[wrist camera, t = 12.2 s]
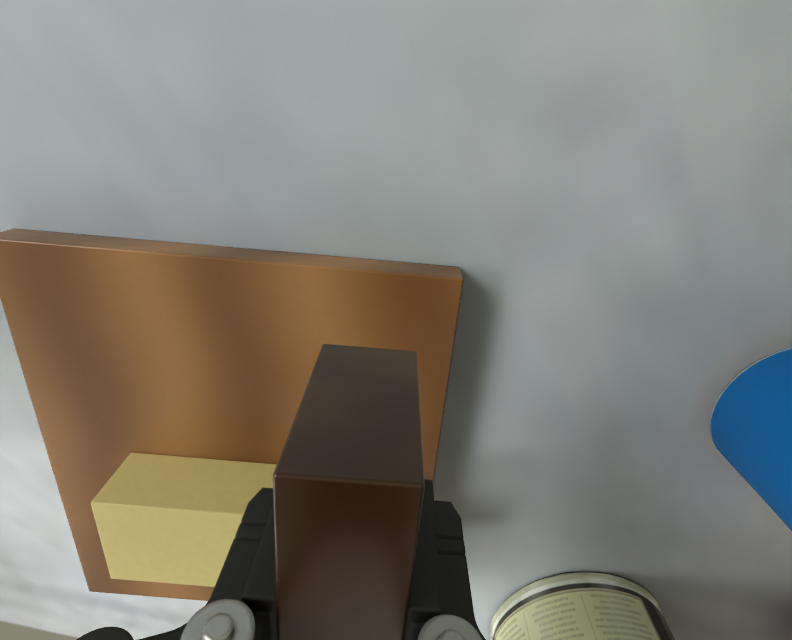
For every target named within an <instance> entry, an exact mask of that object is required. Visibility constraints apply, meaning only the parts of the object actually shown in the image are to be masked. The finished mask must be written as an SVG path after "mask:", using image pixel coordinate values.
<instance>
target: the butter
mask: <svg viewBox="0 0 792 640" xmlns="http://www.w3.org/2000/svg"><path fill="white" fill-rule="evenodd" d="M276 465H277V464H266V463H254V462H241V461H229V460H217V459H205V458H193V457H181V456H169V455H156V454H144V453H131V454H130V455H129V456H128V457H127V458H126V460H125V461H124V462H123V463H122V465H121V466H120V467H119V468H118V469H117V471H116V472H115V473H114V474H113V476H112V477H111V478H110V479H109V480H108V482H107V483H106V484H105V485H104V487H103V488H102V489H101V490H100V491H99V493H98V494H97V495H96V496H95V498H94V499H93V500H92V501H91V507H92V510H93V514H94V518H95V521H96V525H97V529H98V533H99V536H100V540H101V544H102V547H103V551H104V555H105V558H106V562H107V566H108V570H109V573H110V577H111V578H112V579H122V580H134V581H147V582H159V583H172V584H184V585H196V586H209V587H215V585H216V582H217V580H218V577H219V575H220V572H221V570H222V567H223V565H224V562H225V560H226V557H227V555H228V552H229V550H230V547H231V545H232V542H233V540H234V539H235V535H236V532H237V530H238V527H239V525H240V524H241V520H242V517H243V515H244V512H245V510H246V507H247V505H248V502H249V501H250V500H251V499H252V498H253V497H254V496H255V495H256V494H257V493H258V492H259V491H260V490H261V489H262V488H273V473H274V471H275V468H276Z"/></svg>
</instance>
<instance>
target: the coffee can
mask: <svg viewBox="0 0 792 640" xmlns="http://www.w3.org/2000/svg"><path fill="white" fill-rule="evenodd" d="M490 640H675V639H674V637H673V635H672V633H671V631H670V629H669V627H668V625H667V623H666V621H665V619H664V617H663V615H662V611H661V609H660V606H659V605H658V603H657V602H656V600H655V599H654V598H653V596H652V595H651V594H650V593H649V592H647V591H646V590H645V589H644V588H642V587H641V586H639V585H638V584H636V583H634V582H632V581H630V580H628V579H624V578H621V577H618V576H615V575H610V574H605V573H592V572H578V573H565V574H560V575H556V576H553V577H549V578H544V579H541V580H538V581H536V582H533V583H531V584H529V585H527V586H525V587H524V588H522V589H520V590H519V591H517V592H515V593H514V594H513V595H512V596H510V597H509V598H508V599H506V600H505V601H504V602H503V604H502V605H501V606H500V608H499V609H498V610H497V611H496V613H495V615H494V617H493V619H492V622H491V626H490Z"/></svg>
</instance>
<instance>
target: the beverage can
mask: <svg viewBox="0 0 792 640" xmlns="http://www.w3.org/2000/svg"><path fill="white" fill-rule="evenodd" d="M710 431H711V436H712V439H713V442H714V444H715V446H716V447H717V449H718V450H719V451H720V452H721V454H722V455H723V456H724V457H725V458H726V459H727V460H728V461H729V462H730V463H731V465H732V466H733V467H734V468H735V469H736V470H737V471H738V472H739V473H740V474H741V476H742V477H743V478H744V479H745V480H746V481H747V482H748V483H749V484H750V485H751V487H752V488H753V489H754V490H755V491H756V492H757V493H758V494H759V495H760V496H761V497H762V499H763V500H764V501H765V502H766V503H767V504H768V505H769V506H770V507H771V508H772V510H773V511H774V512H775V513H776V514H777V515H778V516H779V517H780V518H781V519H782V521H783V522H784V523H785V524H786V525H787V526H788V527H789V528H790V529H791V530H792V348H790V349H786V350H783V351H779V352H777V353H774V354H772V355H769V356H767V357H765V358H763V359H761V360H759V361H757V362H755V363H754V364H752V365H750V366H749V367H747V368H746V369H744V370H743V371H742V372H740V373H739V374H738V375H737V376H736V377H735V378H734V379H733V380H732V381H731V382H730V383H729V384H728V385H727V387H726V388H725V389H724V390H723V392H722V393H721V395H720V396H719V398H718V400H717V402H716V403H715V406H714V408H713V411H712V415H711V420H710Z"/></svg>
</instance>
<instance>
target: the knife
mask: <svg viewBox="0 0 792 640" xmlns="http://www.w3.org/2000/svg"><path fill="white" fill-rule="evenodd" d="M424 489H425V482H424V465H423V448H422V432H421V415H420V399H419V382H418V366H417V353H416V352H415V351H408V350H396V349H383V348H371V347H358V346H346V345H333V344H323V345H322V347H321V350H320V352H319V355H318V358H317V360H316V363H315V365H314V368H313V371H312V373H311V376H310V379H309V381H308V384H307V386H306V389H305V392H304V394H303V397H302V400H301V402H300V405H299V408H298V410H297V413H296V415H295V418H294V421H293V423H292V426H291V429H290V431H289V434H288V436H287V439H286V442H285V444H284V447H283V450H282V452H281V455H280V458H279V460H278V463H277V465H276V468H275V471H274V473H273V501H274V537H275V572H276V600H277V640H404V636H405V628H406V619H407V611H408V608H409V601H410V593H411V586H412V578H413V571H414V563H415V556H416V548H417V541H418V533H419V526H420V519H421V511H422V504H423V496H424Z"/></svg>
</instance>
